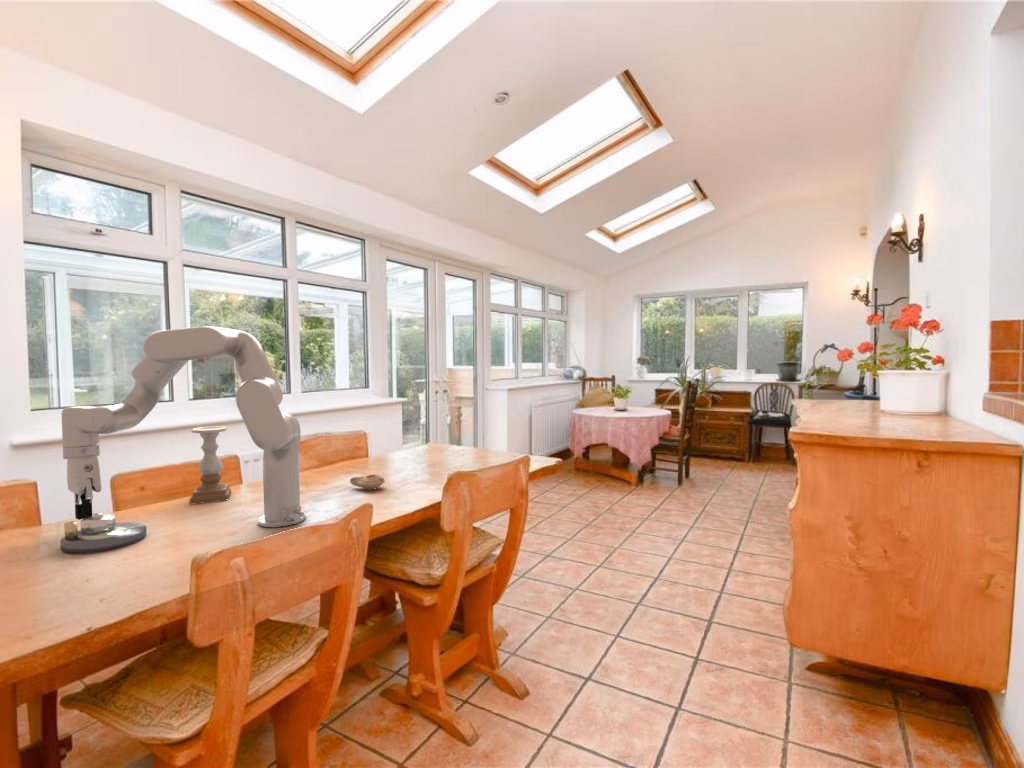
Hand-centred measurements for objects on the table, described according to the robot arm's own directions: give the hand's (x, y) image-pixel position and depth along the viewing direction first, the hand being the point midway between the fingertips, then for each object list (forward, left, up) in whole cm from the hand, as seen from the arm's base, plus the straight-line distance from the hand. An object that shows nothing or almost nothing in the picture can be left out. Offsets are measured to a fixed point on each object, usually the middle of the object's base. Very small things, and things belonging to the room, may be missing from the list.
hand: (84, 517), depth 135 cm
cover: (-11, 0, -1) cm, 11 cm away
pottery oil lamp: (-29, -73, -4) cm, 79 cm away
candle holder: (+5, -35, -4) cm, 36 cm away
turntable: (-15, 0, -4) cm, 16 cm away
